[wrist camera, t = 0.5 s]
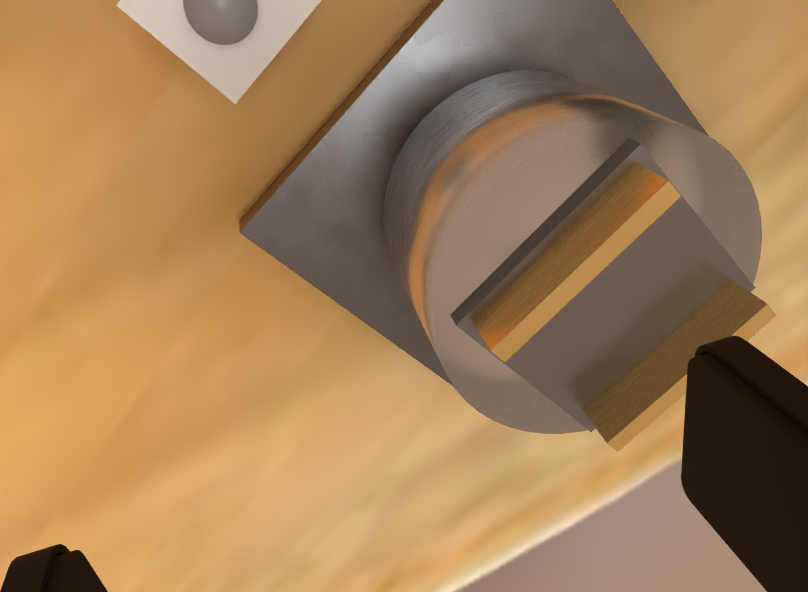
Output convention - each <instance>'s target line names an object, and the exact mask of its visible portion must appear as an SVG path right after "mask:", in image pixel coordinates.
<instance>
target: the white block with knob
mask: <svg viewBox="0 0 808 592" xmlns="http://www.w3.org/2000/svg"><path fill="white" fill-rule="evenodd" d="M320 2H321V0H120V1H119V3H118V4H117V5H116V6H118V7H119V8H120V9H121V10H122V11H124V12H125V13H126V14H127V15H128V16H130V17H131V18H132V19H133V20H134V21H136V22H137V23H138V24H139V25H140V26H142V27H143V28H144V29H145V30H146V31H148V32H149V33H150V34H151V35H152V36H154V37H155V38H156V39H157V40H158V41H160V42H161V43H162V44H163V45H164V46H166V47H167V48H168V49H169V50H170V51H172V52H173V53H174V54H175V55H176V56H178V57H179V58H180V59H181V60H182V61H184V62H185V63H186V64H187V65H188V66H190V67H191V68H192V69H193V70H194V71H196V72H197V73H198V74H199V75H200V76H202V77H203V78H204V79H205V80H206V81H208V82H209V83H210V84H211V85H213V86H214V87H215V88H216V89H217V90H219V91H220V92H221V93H222V94H223V95H225V96H226V97H227V98H228V99H229V100H231V101H232V102H233V103H234V104H236V103H237V102H238V100H239V99H240V98H241V97H242V96H243V94H244V93H245V92H246V91H247V90H248V88H249V87H250V86H251V85H252V84H253V82H254V81H255V80H256V79H257V78H258V76H259V75H260V74H261V73H262V72H263V70H264V69H265V68H266V67H267V65H268V64H269V63H270V62H271V61H272V59H273V58H274V57H275V56H276V55H277V53H278V52H279V51H280V50H281V49H282V47H283V46H284V45H285V44H286V43H287V41H288V40H289V39H290V38H291V37H292V35H293V34H294V33H295V32H296V31H297V29H298V28H299V27H300V26H301V25H302V23H303V22H304V21H305V20H306V19H307V17H308V16H309V15H310V14H311V13H312V11H313V10H314V9H315V8H316V6H317V5H318V4H319V3H320Z"/></svg>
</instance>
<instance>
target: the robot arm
mask: <svg viewBox="0 0 808 592" xmlns="http://www.w3.org/2000/svg"><path fill="white" fill-rule="evenodd" d="M681 481H682V486H683V488H684V491H685V493H686V495H687V497H688V498H689V500H690V501H691V503H692V504H693V505H694V506H695V507H696V509H697V510H698V511H699V512H700V513H701V514H702V516H703V517H704V518H705V519H706V520H707V521H708V523H709V524H710V525H711V526H712V527H713V528H714V530H715V531H716V532H717V533H718V534H719V535H720V537H721V538H722V539H723V540H724V541H725V543H726V544H727V545H728V546H729V547H730V548H731V550H732V551H733V552H734V553H735V554H736V555H737V556H738V558H739V559H740V560H741V561H742V563H743V564H744V565H745V566H746V567H747V568H748V570H749V571H750V572H751V573H752V574H753V575H754V577H755V578H756V579H757V580H758V581H759V583H761V585H762V586H763V587H764V588H765V590H766V591H767V592H808V386H807V385H805V384H804V383H802V382H801V381H800V380H798V379H797V378H796V377H794V376H793V375H792V374H790V373H789V372H788V371H786V370H785V369H784V368H782V367H781V366H780V365H778V364H777V363H776V362H774V361H773V360H771V359H770V358H769V357H767V356H766V355H765V354H763V353H762V352H761V351H759V350H758V349H757V348H755V347H754V346H753V345H751V344H750V343H749V342H747V341H746V340H744V339H743V338H741V337H739V336H730V337H726V338H723V339H720V340H717V341H714V342H710V343H707V344H704V345H701V346H699V347H698V348H697V350H696V352H695V356H694V358H691V359H690V360H689V362H688V368H687V386H686V403H685V420H684V438H683V455H682V473H681ZM0 592H108V591H107V590H106V588H105V587H104V585H103V584H102V582H101V581H100V579H99V577H98V576H97V574H96V573H95V571H94V570H93V568H92V567H91V565H90V564H89V562H88V560H87V559H86V557H85V556H84V554H83V553H82V552H81V551H79V550H75V551H71V552H70V551H69V550H68V549H67V547H66V546H64V545H62V544H59V545H55V546H51V547H48V548H45V549H42V550H38V551H35V552H32V553H29V554H26V555H22V556H19V557H16V558H15V559H14V560H13V561H12V562H11V564H10V566H9V568H8V571H7V574H6V577H5V580H4V582H3V585H2V588H1V591H0Z"/></svg>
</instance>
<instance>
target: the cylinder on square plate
mask: <svg viewBox="0 0 808 592" xmlns="http://www.w3.org/2000/svg"><path fill="white" fill-rule="evenodd" d="M240 233H241V234H243V235H244V236H245V237H247V238H248V239H249V240H251V241H252V242H254V243H255V244H256V245H258V246H259V247H261V248H262V249H263V250H265V251H266V252H268V253H269V254H270V255H272V256H273V257H275V258H276V259H277V260H279V261H280V262H281V263H283V264H284V265H286V266H287V267H288V268H290V269H291V270H293V271H294V272H295V273H297V274H298V275H300V276H301V277H302V278H304V279H305V280H307V281H308V282H309V283H311V284H312V285H313V286H315V287H316V288H318V289H319V290H320V291H322V292H323V293H325V294H326V295H327V296H329V297H330V298H332V299H333V300H334V301H336V302H337V303H339V304H340V305H341V306H343V307H344V308H345V309H347V310H348V311H350V312H351V313H352V314H354V315H355V316H357V317H358V318H359V319H361V320H362V321H364V322H365V323H366V324H368V325H369V326H371V327H372V328H373V329H375V330H376V331H377V332H379V333H380V334H382V335H383V336H384V337H386V338H387V339H389V340H390V341H391V342H393V343H394V344H396V345H397V346H398V347H400V348H401V349H403V350H404V351H405V352H407V353H408V354H409V355H411V356H412V357H414V358H415V359H416V360H418V361H419V362H421V363H422V364H423V365H425V366H426V367H428V368H429V369H430V370H432V371H433V372H435V373H436V374H437V375H439V376H440V377H441V378H443V379H444V380H446V381H447V382H448V383H450V384H451V385H453V386H454V388H455V389H456V390H457V391H458V392H459V393H460V395H461V396H462V397H463V398H464V399H465V400H466V401H467V402H468V403H469V404H470V405H471V406H473V407H474V408H475V409H476V410H477V411H478V412H480V413H482V414H483V415H485V416H487V417H488V418H490V419H492V420H493V421H496V422H498V423H501V424H503V425H506V426H508V427H511V428H515V429H519V430H523V431H527V432H535V433H544V434H563V433H572V432H581V431H585V430H589V431H590V432H592V431H593V430H594V429H595V428H596V429H597V430H598V432H599V433H600V434H601V436H602V437H603V438H604V440H605V441H606V442H607V444H609V445H610V446H611V447H612V448H614V449H615V450H616V451H619V450H620V449H622V448H623V447H624V446H625V445H626V444H627V443H629V442H630V441H631V440H632V439H633V438H634V437H636V436H637V435H638V434H639V433H640V432H641V431H643V430H644V429H645V428H646V427H647V426H648V425H650V424H651V423H652V422H653V421H654V420H655V419H657V418H658V417H659V416H660V415H661V414H662V413H663V412H665V411H666V410H667V409H668V408H669V407H670V406H672V405H673V404H674V403H675V402H676V401H677V400H679V399H680V398H681V397H682V396H683V395H684V394H686V386H687V368H688V362H689V360H690V359H691V358H694V356H695V352H696V350H697V348H698V347H699V346H701V345H704V344H707V343H710V342H714V341H717V340H720V339H723V338H726V337H730V336H739V337H741V338H743V339H744V340H746V341H747V340H748V339H749V338H751V337H752V336H753V335H754V334H755V333H756V332H758V331H759V330H760V329H761V328H762V327H763V326H765V325H766V324H767V323H768V322H769V321H770V320H772V319H773V318H774V317H775V316H776V314H775V313H774V312H773V310H772V309H771V308H770V307H769V305H768V304H767V303H765V302H764V301H762V300H761V299H759V298H758V297H756V296H755V295H753V294H752V293H750V292H751V291H752V290H753V289H754V288H755V287H754V285H753V283H754V280H755V277H756V273H757V268H758V264H759V260H760V252H761V242H762V230H761V216H760V211H759V205H758V200H757V197H756V195H755V192H754V189H753V186H752V184H751V182H750V180H749V178H748V176H747V175H746V173H745V171H744V169H743V168H742V166H741V165H740V164H739V163H738V161H737V160H736V159H735V158H734V157H733V155H732V154H731V153H730V152H729V151H728V150H726V149H725V148H724V147H723V146H722V145H720V144H719V143H718V142H717V141H715V140H714V139H712V138H710V137H709V136H708V134H707V133H706V132H705V130H704V129H703V127H702V126H701V125H700V123H699V122H698V120H697V119H696V118H695V116H694V115H693V113H692V112H691V111H690V109H689V108H688V106H687V105H686V104H685V102H684V101H683V99H682V98H681V97H680V95H679V94H678V92H677V91H676V90H675V88H674V87H673V85H672V84H671V83H670V81H669V80H668V78H667V77H666V76H665V74H664V73H663V71H662V70H661V69H660V67H659V66H658V64H657V63H656V62H655V60H654V59H653V57H652V56H651V55H650V53H649V52H648V50H647V49H646V48H645V46H644V45H643V43H642V42H641V41H640V39H639V38H638V36H637V35H636V34H635V32H634V31H633V29H632V28H631V27H630V25H629V24H628V22H627V21H626V20H625V18H624V17H623V15H622V14H621V13H620V11H619V10H618V8H617V7H616V6H615V4H614V3H613V1H612V0H433V1H432V2H431V3H430V4H429V5H428V6H427V8H426V9H425V10H424V11H423V12H422V13H421V14H420V16H419V17H418V18H417V19H416V20H415V21H414V22H413V24H412V25H411V26H410V27H409V28H408V29H407V30H406V32H405V33H404V34H403V35H402V36H401V37H400V38H399V40H398V41H397V42H396V43H395V44H394V45H393V46H392V48H391V49H390V50H389V51H388V52H387V53H386V54H385V56H384V57H383V58H382V59H381V60H380V61H379V62H378V64H377V65H376V66H375V67H374V68H373V69H372V70H371V72H370V73H369V74H368V75H367V76H366V77H365V78H364V80H363V81H362V82H361V83H360V84H359V85H358V86H357V88H356V89H355V90H354V91H353V92H352V93H351V94H350V96H349V97H348V98H347V99H346V100H345V101H344V102H343V104H342V105H341V106H340V107H339V108H338V109H337V110H336V112H335V113H334V114H333V115H332V116H331V117H330V118H329V120H328V121H327V122H326V123H325V124H324V125H323V126H322V128H321V129H320V130H319V131H318V132H317V133H316V134H315V136H314V137H313V138H312V139H311V140H310V141H309V142H308V144H307V145H306V146H305V147H304V148H303V149H302V150H301V152H300V153H299V154H298V155H297V156H296V157H295V158H294V160H293V161H292V162H291V163H290V164H289V165H288V166H287V168H286V169H285V170H284V171H283V172H282V173H281V174H280V176H279V177H278V178H277V179H276V180H275V181H274V182H273V184H272V185H271V186H270V187H269V188H268V189H267V190H266V192H265V193H264V194H263V195H262V196H261V197H260V198H259V200H258V201H257V202H256V203H255V204H254V205H253V206H252V208H251V209H250V210H249V211H248V212H247V213H246V214H245V216H244V217H243V218H242V219H241V220H240Z"/></svg>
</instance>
